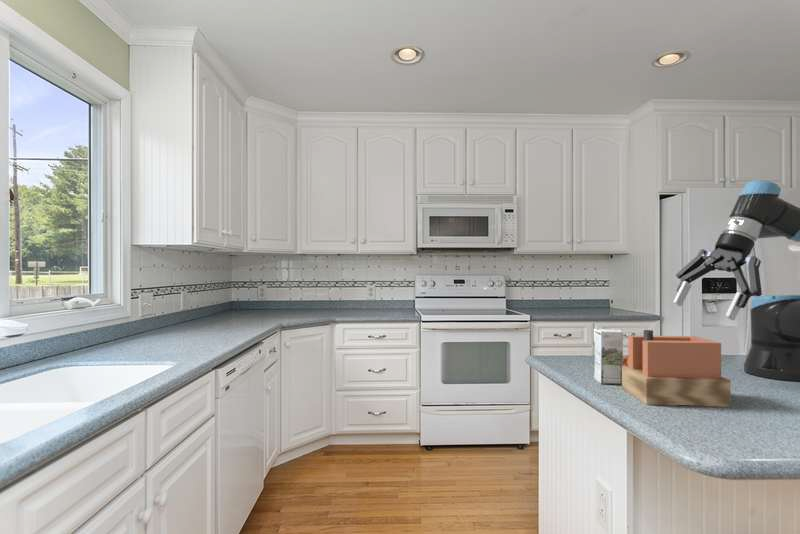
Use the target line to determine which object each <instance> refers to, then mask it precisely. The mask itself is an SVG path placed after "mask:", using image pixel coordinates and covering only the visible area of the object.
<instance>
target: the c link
mask: <svg viewBox="0 0 800 534" xmlns="http://www.w3.org/2000/svg"><path fill="white" fill-rule="evenodd" d="M627 340H628V345H627V346H628V354H627V355H628V359H629V367H630V368H632V369H643V375H645V376H647V377H682V378H721V377H722V343H721V342H718V341H716V340H715V341H714V340H710V339H708V338H703V337H700V336H695V335H653V341H651V340H644V335H628V339H627Z"/></svg>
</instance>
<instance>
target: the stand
mask: <svg viewBox="0 0 800 534" xmlns="http://www.w3.org/2000/svg"><path fill="white" fill-rule="evenodd" d="M643 336H644V340H651V341H653V336H654V330H651V329H644V330H643ZM731 386H732V384H731V379H729V378H727V377H723V376H721V378H682V377H647V376H645V375H643V369H632V368H630V367H629V366H625V365H622V384H621V389H622V390H623V391H625V392H626V393H627V394H629V395H631V396H633V397H634V398H635V399H637V400H638V401H640V402H642V403H643V404H644V405H646V406H647V405H648V406H653V405H654V406H677V405H690V406H689V407H692V406H693V407H716V406H718V407H723V408H725V407H726V408H731V406H732V405H731V403H732V402H731V401H732V400H731V399H732V398H731V397H732V396H731V388H732V387H731ZM718 407H717V408H718Z"/></svg>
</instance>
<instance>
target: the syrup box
mask: <svg viewBox="0 0 800 534" xmlns="http://www.w3.org/2000/svg"><path fill="white" fill-rule="evenodd" d="M623 358H624V332H623V331H622V330H620V329H618V328H614V327H613V328H612V327H611V328H601V327H599V328H596V327H595V328H593V379H594V380H595V381H596V382H598V383H599V384H601V385H622V365H623Z"/></svg>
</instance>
